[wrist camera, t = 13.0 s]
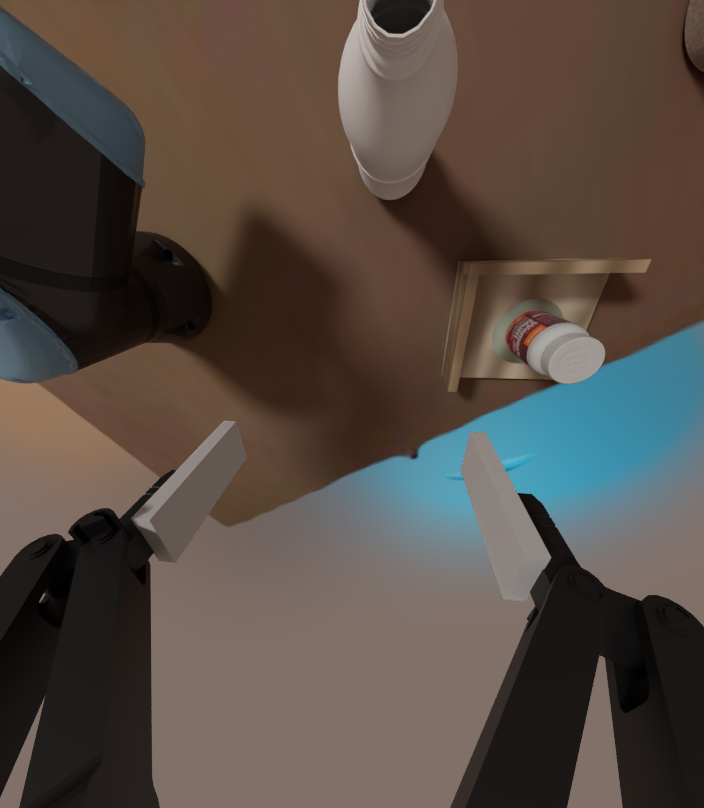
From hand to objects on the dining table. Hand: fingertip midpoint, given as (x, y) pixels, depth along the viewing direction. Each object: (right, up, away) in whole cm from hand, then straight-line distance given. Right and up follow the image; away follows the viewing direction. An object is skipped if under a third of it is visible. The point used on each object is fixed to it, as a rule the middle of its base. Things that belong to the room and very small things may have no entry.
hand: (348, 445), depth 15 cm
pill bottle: (+25, +12, +22) cm, 35 cm away
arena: (+23, +14, +22) cm, 35 cm away
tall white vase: (+5, +30, +16) cm, 34 cm away
